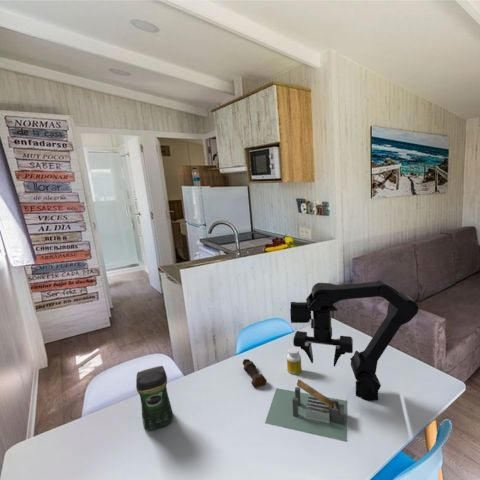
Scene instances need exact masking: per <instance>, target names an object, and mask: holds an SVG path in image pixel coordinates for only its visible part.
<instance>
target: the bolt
mask: <svg viewBox="0 0 480 480" xmlns="http://www.w3.org/2000/svg"><path fill="white" fill-rule="evenodd" d="M242 366H243V370H244V372H246V373H245V374H247V375H249V376H250V378H251V382H250V384H251V386H252V387H253V388H254V389H257V388H259V387H263V386H266V384H267V379H266V377H265V376H264V374H262V373H259V372H258V370H257V366H256V365H255V363H254V362H253V361H252V360H250V359H249V358H247V359H246V358H244V359H243V360H242Z"/></svg>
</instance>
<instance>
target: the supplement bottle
mask: <svg viewBox="0 0 480 480" xmlns="http://www.w3.org/2000/svg"><path fill="white" fill-rule="evenodd" d="M286 363H287V364H286V367H287V369H286V371H287V372H288V374H290V375H293V376H296V375H300V374H301V373H302V356H301V354H300V350H299V349H298V347H290V348H288V350H287V356H286Z"/></svg>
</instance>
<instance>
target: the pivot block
mask: <svg viewBox="0 0 480 480" xmlns="http://www.w3.org/2000/svg"><path fill="white" fill-rule="evenodd" d="M332 401H333V402H336V403H337V409H334V408H331V422H335V423H339V424H343V425H344V405H342V404H339V401H337V400H332Z"/></svg>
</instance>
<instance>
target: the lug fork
mask: <svg viewBox="0 0 480 480" xmlns="http://www.w3.org/2000/svg"><path fill="white" fill-rule="evenodd" d="M294 391H295V397H293V399H292V402H293V416H295V417H298V406H300V405H301V396H300V392H301V388H300V387H298V386H295V389H294Z"/></svg>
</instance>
